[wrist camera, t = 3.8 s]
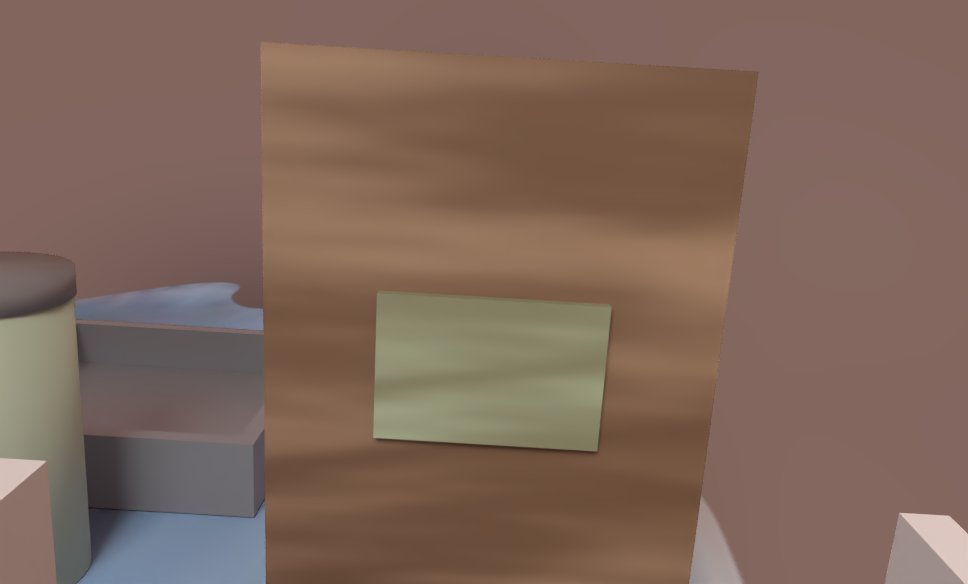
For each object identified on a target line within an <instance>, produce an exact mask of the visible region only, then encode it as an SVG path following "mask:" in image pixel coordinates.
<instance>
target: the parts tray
mask: <svg viewBox="0 0 968 584" xmlns="http://www.w3.org/2000/svg"><path fill="white" fill-rule="evenodd" d="M76 334H77V349H78V363H79V378H80V392H81V407H82V422H83V436H84V451H85V465H86V480H87V494H88V507H92V508H109V509H125V510H141V511H158V512H174V513H190V514H207V515H223V516H239V517H255V515H256V513H257V511H258V509H259V508H260V506H261V504H262V502H263V501H264V499H265V429H264V331H263V330H246V329H230V328H213V327H197V326H180V325H164V324H147V323H131V322H114V321H98V320H81V319H76Z"/></svg>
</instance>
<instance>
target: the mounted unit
mask: <svg viewBox="0 0 968 584" xmlns="http://www.w3.org/2000/svg"><path fill="white" fill-rule="evenodd" d="M757 79H758V72H753V71H736V70H720V69H704V68H686V67H670V66H653V65H637V64H619V63H602V62H586V61H569V60H552V59H535V58H519V57H500V56H484V55H468V54H452V53H434V52H417V51H400V50H384V49H367V48H351V47H334V46H317V45H299V44H284V43H283V44H282V43H267V42H261V111H262V112H261V116H262V117H261V118H262V213H263V214H262V218H263V220H262V221H263V325H264V429H265V533H266V584H689V579H690V571H691V564H692V557H693V549H694V542H695V535H696V527H697V520H698V513H699V505H700V498H701V489H702V483H703V475H704V468H705V461H706V454H707V446H708V439H709V431H710V425H711V417H712V410H713V402H714V395H715V388H716V380H717V373H718V366H719V358H720V350H721V344H722V336H723V329H724V322H725V314H726V306H727V300H728V291H729V285H730V278H731V270H732V262H733V255H734V248H735V241H736V234H737V226H738V219H739V212H740V204H741V197H742V189H743V182H744V174H745V167H746V160H747V153H748V145H749V138H750V130H751V123H752V116H753V108H754V101H755V94H756V87H757Z"/></svg>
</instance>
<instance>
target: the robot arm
mask: <svg viewBox="0 0 968 584" xmlns="http://www.w3.org/2000/svg"><path fill="white" fill-rule="evenodd" d="M0 584H57V579H56V566H55V554H54V542H53V530H52V517H51V505H50V493H49V481H48V468H47V461H40V460H24V459H7V458H0ZM885 584H968V534H967V533H966V532H965V531H964V530H963V529H962V528H961V527H960V526H959V525H958V524H957V523H956V522H955V521H954V520H953V519H952V518H951V517H950V516H941V515H926V514H924V515H923V514H909V513H899V517H898V522H897V527H896V532H895V537H894V542H893V547H892V551H891V556H890V561H889V566H888V571H887V575H886V580H885Z"/></svg>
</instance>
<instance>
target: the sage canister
mask: <svg viewBox="0 0 968 584" xmlns="http://www.w3.org/2000/svg"><path fill="white" fill-rule="evenodd" d="M76 292H77V290H76V276H75V264H74V263H73V262H72V261H71V260H69V259H66V258H63V257H60V256H55V255H49V254H41V253H30V252H0V458H7V459H24V460H40V461H47V468H48V481H49V493H50V505H51V517H52V530H53V542H54V554H55V566H56V579H57V584H76V583H77V582H78V581H79V580H80V579H81V578H82V577H83V576H84V575H85V574H86V572H87V571H88V569H89V567H90V565H91V561H92V553H91V538H90V524H89V509H88V494H87V480H86V465H85V451H84V436H83V422H82V407H81V392H80V378H79V363H78V349H77V334H76V319H75V305H74V296H75V295H76Z"/></svg>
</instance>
